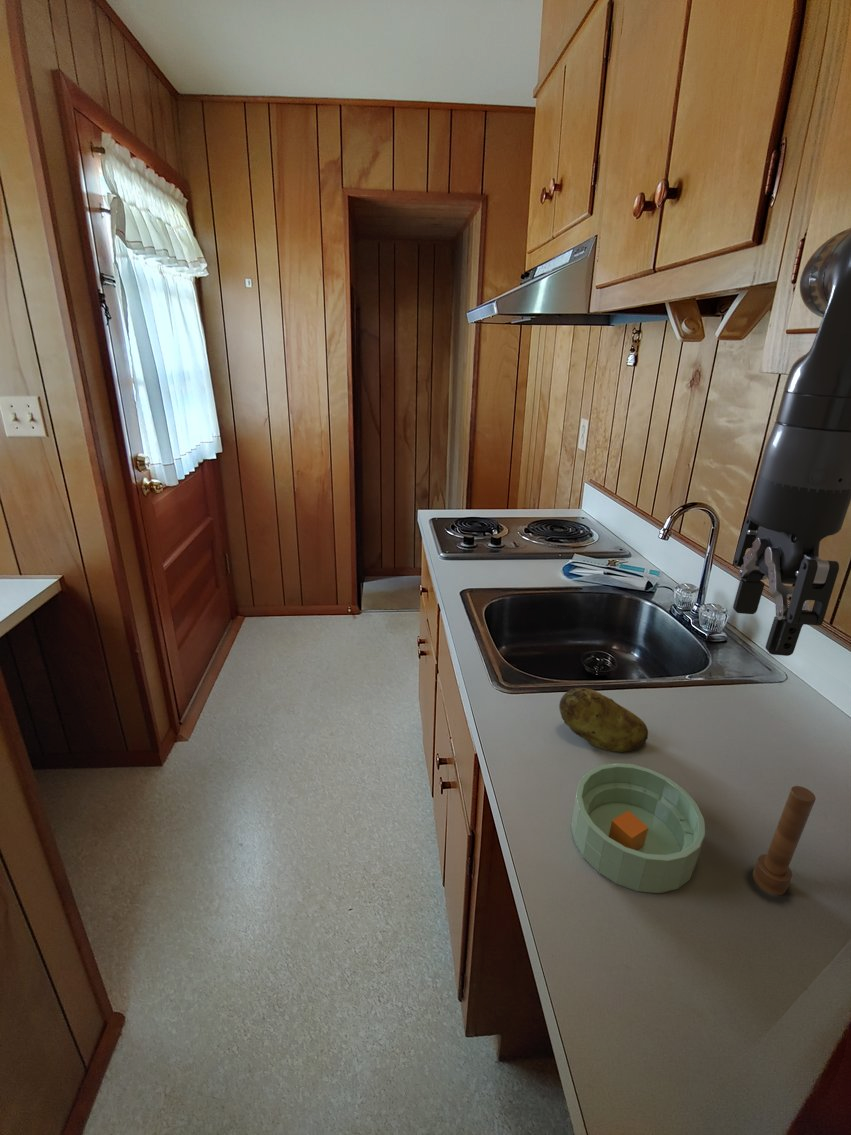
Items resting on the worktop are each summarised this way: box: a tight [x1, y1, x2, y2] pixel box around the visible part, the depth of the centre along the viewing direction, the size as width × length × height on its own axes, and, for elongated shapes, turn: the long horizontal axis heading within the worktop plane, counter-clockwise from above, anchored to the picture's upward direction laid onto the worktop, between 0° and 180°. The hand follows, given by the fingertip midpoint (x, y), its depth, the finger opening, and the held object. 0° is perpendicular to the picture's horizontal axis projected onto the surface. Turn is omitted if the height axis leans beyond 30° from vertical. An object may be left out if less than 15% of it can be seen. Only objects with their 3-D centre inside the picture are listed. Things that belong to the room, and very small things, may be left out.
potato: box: [558, 687, 649, 753], centre depth 84 cm, size 8×13×8 cm, turn 56°
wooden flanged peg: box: [752, 785, 816, 896], centre depth 60 cm, size 3×3×14 cm
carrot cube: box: [609, 811, 648, 850], centre depth 67 cm, size 3×3×3 cm
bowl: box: [570, 762, 706, 894], centre depth 67 cm, size 14×14×6 cm
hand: (759, 631), depth 56 cm, fingers open, 8 cm apart
